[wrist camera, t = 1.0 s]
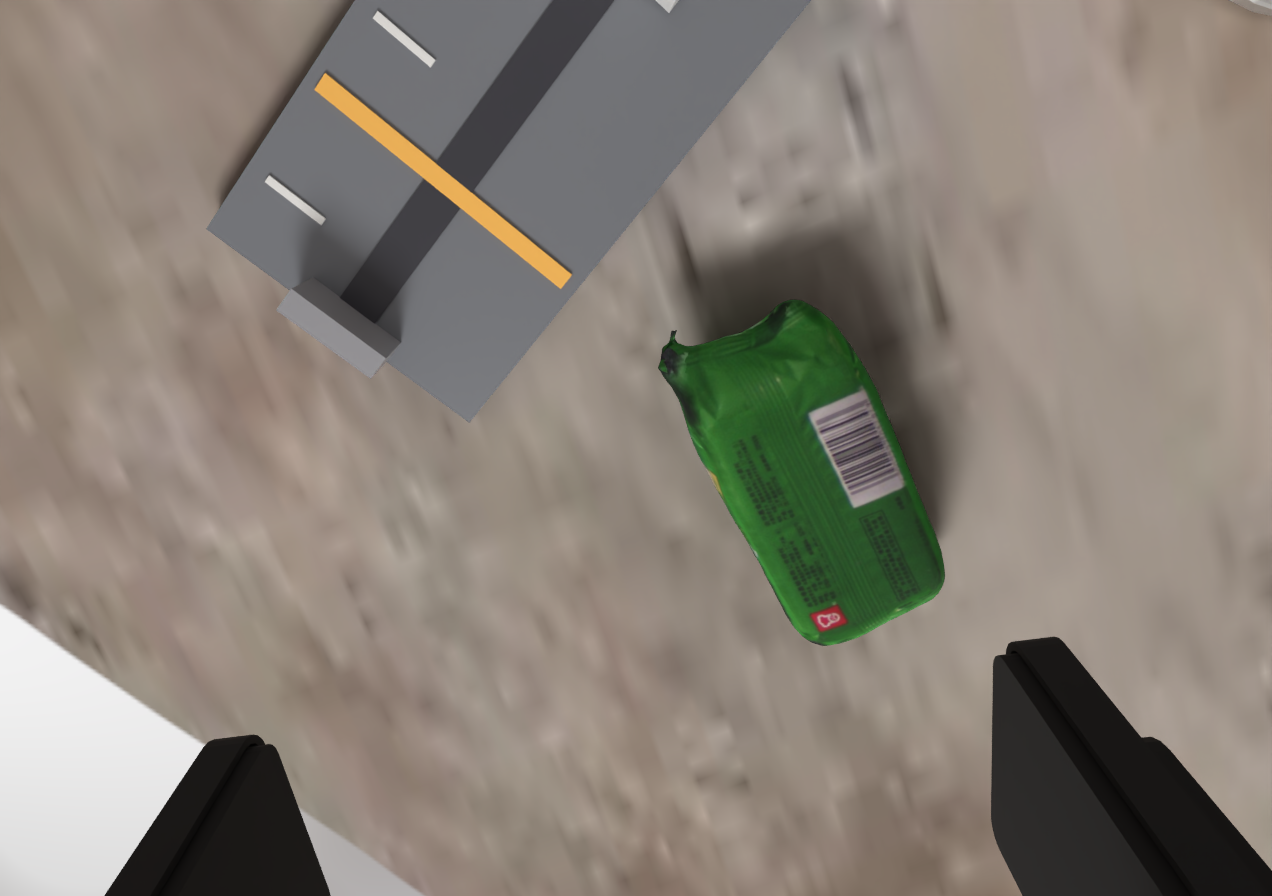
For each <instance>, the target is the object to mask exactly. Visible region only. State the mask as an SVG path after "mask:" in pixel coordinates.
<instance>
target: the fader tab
mask: <svg viewBox="0 0 1272 896" xmlns="http://www.w3.org/2000/svg"><path fill="white" fill-rule="evenodd" d="M656 1H657V2H658V3H659V4H660V5H661V6H662V7H663V8H664V9H665V10H666V11H667V12H668V13H670V11H671V10H672V9H673V7H674V6H675V5H676V3H677V2H678V1H679V0H656Z"/></svg>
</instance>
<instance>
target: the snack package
mask: <svg viewBox="0 0 1272 896" xmlns="http://www.w3.org/2000/svg"><path fill="white" fill-rule="evenodd" d="M676 331H677V330H676ZM676 331H672V332H671V337H670V341H669V343H668V344H667V345H665V346H664V347H663V348H662V354H661V361H660V364H659V367H658V368H659V370H660V371H661V373H662V375H663V377H664V378H665V379H666V381H667V382H668V383H669V384H670V386H671V387H672V388H673V390H674V392H675V394H676V396H677V397H678V399H679V402H680V404H681V407H682V410H683V413H684V417H685V420H686V424H687V427H688V430H689V433H690V436H691V439H692V441H693V444H694V446H695V448H696V450H697V453H698V455H699V457H700V459H701V461H702V463H703V464H704V466H705V468H706V470H707V471H708V473H709V475H710V477H711V480H712V482H713V484H714V485H715V487H716V489H717V491H718V492H719V494H720V496H721V498H722V499H723V501H724V503H725V504H726V506H727V508H728V510H729V512H730V514H731V516H732V517H733V519H734V521H735V523H736V524H737V526H738V527H739V529H740V530H741V532H742V533H743V535H744V537H745V538H746V540H747V542H748V544H749V546H750V548H751V549H752V551H753V553H754V555H755V557H756V558H757V560H758V561H759V563H760V565H761V567H762V569H763V571H764V573H765V575H766V577H767V579H768V581H769V583H770V585H771V586H772V588H773V590H774V592H775V594H776V596H777V598H778V600H779V602H780V604H781V606H782V608H783V610H784V612H785V614H786V615H787V617H788V619H789V620H790V622H791V623H792V625H793V626H794V628H795V629H796V630H797V631H798V632H799V633H800V634H801V635H802V636H803V637H804V638H806V639H807V640H809V641H810V642H812V643H815V644H818V645H822V646H827V645H834V644H839V643H843V642H846V641H849V640H852V639H855V638H858V637H860V636H862V635H864V634H866V633H868V632H870V631H871V630H873V629H875V628H877V627H878V626H880V625H882V624H884V623H886V622H888V621H890V620H892V619H894V618H896V617H898V616H900V615H902V614H904V613H906V612H908V611H910V610H912V609H914V608H916V607H918V606H920V605H922V604H924V603H926V602H928V601H930V600H932V599H933V598H934V597H935V596H936V595H937V594H938V593H939V591H940V590H941V588H942V586H943V583H944V579H945V571H944V563H943V558H942V553H941V549H940V546H939V543H938V541H937V538H936V535H935V532H934V530H933V527H932V525H931V523H930V521H929V518H928V516H927V513H926V510H925V508H924V505H923V503H922V501H921V498H920V496H919V494H918V491H917V489H916V486H915V484H914V481H913V478H912V476H911V473H910V470H909V468H908V466H907V464H906V462H905V459H904V455H903V453H902V450H901V447H900V445H899V443H898V441H897V438H896V435H895V433H894V430H893V427H892V425H891V423H890V421H889V419H888V416H887V414H886V411H885V409H884V407H883V404H882V402H881V400H880V397H879V394H878V392H877V389H876V387H875V385H874V384H873V382H872V380H871V378H870V376H869V375H868V373H867V371H866V369H865V367H864V366H863V364H862V362H861V361H860V359H859V358H858V356H857V355H856V353H855V352H854V350H853V348H852V347H851V345H850V344H849V343H848V341H847V340H846V339H845V337H844V336H843V335H842V333H841V332H840V331H839V329H838V328H837V327H836V325H835V324H834V323H833V322H832V321H831V320H830V319H829V318H828V317H827V316H825V315H824V314H823V313H821V312H820V311H819V310H818V309H816V308H815V307H813V306H811V305H809V304H807V303H806V302H804V301H800V300H788V301H785V302H782V303H781V304H779V305H778V306H776V308H775V309H774V310H773V311H772V312H771V313H770V314H769V315H767V316H766V317H765V318H764V319H763V320H762V321H760V322H759V323H757V324H755V325H754V326H752V327H750V328H749V329H747V330H745V331H743V332H741V333H738V334H734V335H730V336H725V337H722V338H720V339H717V340H714V341H711V342H708V343H705V344H700V345H695V346H684V345H682V344H679V343H677V341H676V340H675V334H676Z"/></svg>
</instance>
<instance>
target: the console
mask: <svg viewBox="0 0 1272 896" xmlns="http://www.w3.org/2000/svg"><path fill="white" fill-rule="evenodd" d="M810 1H811V0H679V1H678V2H677V3H676V5H675V6H674V7H673V9H672V10H671V11H670V13H668V12H667V11H666V10H665V9H664V8H663V7H662V6H661V5H660V4H659V3H658V2H657V1H656V0H355V1H354V2H353V4H352V5H351V7H350V8H349V10H348V11H347V13H346V15H345V16H344V18H343V19H342V21H341V22H340V24H339V25H338V27H337V28H336V30H335V31H334V33H333V35H332V36H331V38H330V39H329V41H328V42H327V44H326V45H325V47H324V48H323V50H322V51H321V53H320V55H319V56H318V58H317V59H316V61H315V62H314V64H313V65H312V67H311V68H310V70H309V71H308V73H307V75H306V76H305V78H304V79H303V81H302V82H301V84H300V85H299V87H298V88H297V90H296V91H295V93H294V95H293V96H292V98H291V99H290V101H289V102H288V104H287V105H286V107H285V108H284V110H283V111H282V113H281V115H280V116H279V118H278V119H277V121H276V122H275V124H274V125H273V127H272V128H271V130H270V131H269V133H268V135H267V136H266V138H265V139H264V141H263V142H262V144H261V145H260V147H259V148H258V150H257V152H256V153H255V155H254V156H253V158H252V159H251V161H250V162H249V164H248V165H247V167H246V168H245V170H244V172H243V173H242V175H241V176H240V178H239V179H238V181H237V182H236V184H235V185H234V187H233V188H232V190H231V192H230V193H229V195H228V196H227V198H226V199H225V201H224V202H223V204H222V205H221V207H220V208H219V210H218V212H217V213H216V215H215V216H214V218H213V219H212V221H211V222H210V224H209V225H208V227H207V228H206V229H207V230H208V231H210V232H211V233H212V234H214V235H215V236H216V237H218V238H219V239H221V240H222V241H223V242H225V243H226V244H227V245H229V246H230V247H231V248H233V249H234V250H235V251H237V252H238V253H240V254H241V255H242V256H244V257H245V258H246V259H248V260H249V261H250V262H252V263H253V264H254V265H256V266H257V267H259V268H260V269H261V270H263V271H264V272H265V273H267V274H268V275H269V276H271V277H272V278H274V279H275V280H276V281H278V282H279V283H280V284H282V285H283V286H284V287H286V288H287V289H288V290H290V291H289V293H288V294H287V295H286V297H285V298H284V300H283V301H282V303H281V304H280V305H279V307H278V308H277V311H278V312H279V313H281V314H282V315H283V316H285V317H286V318H288V319H289V320H290V321H292V322H293V323H294V324H296V325H297V326H299V327H300V328H301V329H303V330H304V331H305V332H307V333H308V334H310V335H311V336H312V337H314V338H315V339H317V340H318V341H319V342H321V343H322V344H323V345H325V346H326V347H328V348H329V349H330V350H332V351H333V352H334V353H336V354H337V355H339V356H340V357H341V358H343V359H344V360H345V361H347V362H348V363H350V364H351V365H352V366H354V367H355V368H356V369H358V370H359V371H361V372H362V373H363V374H365V375H366V376H367V377H369V378H370V379H371V378H372V377H373V376H374V375H375V374H376V373H377V372H378V370H379V369H380V368H381V367H382V366H383V365H384V364H385V363H386V362H388V363H389V364H390V365H392V366H393V367H394V368H396V369H397V370H398V371H400V372H401V373H403V374H404V375H405V376H407V377H408V378H409V379H411V380H412V381H413V382H415V383H416V384H417V385H419V386H420V387H422V388H423V389H424V390H426V391H427V392H428V393H430V394H431V395H432V396H434V397H435V398H436V399H438V400H439V401H441V402H442V403H443V404H445V405H446V406H447V407H449V408H450V409H451V410H453V411H454V412H456V413H457V414H458V415H460V416H461V417H462V418H464V419H465V420H466V421H468V422H470V421H471V420H472V419H473V417H474V416H475V415H476V414H477V412H478V411H479V410H480V409H481V407H482V406H483V405H484V404H485V403H486V401H487V400H488V399H489V398H490V396H491V395H492V394H493V393H494V391H495V390H496V389H497V388H498V386H499V385H500V384H501V383H502V382H503V380H504V379H505V378H506V377H507V375H508V374H509V373H510V372H511V370H512V369H513V368H514V367H515V365H516V364H517V363H518V362H519V361H520V359H521V358H522V357H523V356H524V354H525V353H526V352H527V351H528V349H529V348H530V347H531V346H532V344H533V343H534V342H535V341H536V340H537V338H538V337H539V336H540V335H541V333H542V332H543V331H544V330H545V328H546V327H547V326H548V325H549V323H550V322H551V321H552V320H553V319H554V317H555V316H556V315H557V314H558V312H559V311H560V310H561V309H562V307H563V306H564V305H565V304H566V302H567V301H568V300H569V299H570V298H571V296H572V295H573V294H574V293H575V291H576V290H577V289H578V288H579V286H580V285H581V284H582V283H583V281H584V280H585V279H586V278H587V276H588V275H589V274H590V273H591V272H592V270H593V269H594V268H595V267H596V265H597V264H598V263H599V262H600V260H601V259H602V258H603V257H604V255H605V254H606V253H607V252H608V251H609V249H610V248H611V247H612V246H613V244H614V243H615V242H616V241H617V239H618V238H619V237H620V236H621V234H622V233H623V232H624V231H625V230H626V228H627V227H628V226H629V225H630V223H631V222H632V221H633V220H634V218H635V217H636V216H637V215H638V213H639V212H640V211H641V210H642V209H643V207H644V206H645V205H646V204H647V202H648V201H649V200H650V199H651V197H652V196H653V195H654V194H655V192H656V191H657V190H658V189H659V188H660V186H661V185H662V184H663V183H664V181H665V180H666V179H667V178H668V176H669V175H670V174H671V173H672V171H673V170H674V169H675V168H676V167H677V165H678V164H679V163H680V162H681V160H682V159H683V158H684V157H685V155H686V154H687V153H688V152H689V150H690V149H691V148H692V147H693V146H694V144H695V143H696V142H697V141H698V139H699V138H700V137H701V136H702V134H703V133H704V132H705V131H706V129H707V128H708V127H709V126H710V125H711V123H712V122H713V121H714V120H715V118H716V117H717V116H718V115H719V113H720V112H721V111H722V110H723V108H724V107H725V106H726V105H727V103H728V102H729V101H730V100H731V99H732V97H733V96H734V95H735V94H736V92H737V91H738V90H739V89H740V87H741V86H742V85H743V84H744V82H745V81H746V80H747V79H748V78H749V76H750V75H751V74H752V73H753V71H754V70H755V69H756V68H757V66H758V65H759V64H760V63H761V61H762V60H763V59H764V58H765V57H766V55H767V54H768V53H769V52H770V50H771V49H772V48H773V47H774V45H775V44H776V43H777V42H778V40H779V39H780V38H781V37H782V36H783V34H784V33H785V32H786V31H787V29H788V28H789V27H790V26H791V24H792V23H793V22H794V21H795V19H796V18H797V17H798V16H799V15H800V13H801V12H802V11H803V10H804V8H805V7H806V6H807V5H808V3H809V2H810Z"/></svg>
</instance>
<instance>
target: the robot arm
mask: <svg viewBox="0 0 1272 896" xmlns="http://www.w3.org/2000/svg"><path fill="white" fill-rule="evenodd" d="M1229 1H1231V2H1233V3H1235V4H1237V5H1239V6H1241V7H1243V8H1246V9H1248V10H1250V11H1252V12H1255V13H1260V14H1265V15H1269V16H1272V0H1229ZM991 821H992V827H993V832H994V836H995V839H996V842H997V845H998V847H999V849H1000V851H1001V853H1002V855H1003V857H1004V859H1005V861H1006V863H1007V865H1008V867H1009V869H1010V871H1011V873H1012V875H1013V877H1014V879H1015V881H1016V883H1017V885H1018V887H1019V889H1020V891H1021V893H1022V895H1023V896H1272V870H1271V869H1270V868H1269V867H1268V866H1267V864H1266V863H1265V862H1264V861H1263V860H1262V859H1261V857H1260V856H1259V855H1258V854H1257V853H1256V851H1255V850H1254V849H1253V848H1252V847H1251V846H1250V844H1249V843H1248V842H1247V841H1246V840H1245V838H1244V837H1243V836H1242V835H1241V834H1240V832H1239V831H1238V830H1237V829H1236V828H1235V827H1234V825H1233V824H1232V823H1231V822H1230V821H1229V819H1228V818H1227V817H1226V816H1225V815H1224V814H1223V812H1222V811H1221V810H1220V809H1219V808H1218V806H1217V805H1216V804H1215V803H1214V802H1213V800H1212V799H1211V798H1210V797H1209V796H1208V795H1207V793H1206V792H1205V791H1204V790H1203V789H1202V787H1201V786H1200V785H1199V784H1198V783H1197V782H1196V780H1195V779H1194V778H1193V777H1192V776H1191V774H1190V773H1189V772H1188V771H1187V770H1186V768H1185V767H1184V766H1183V765H1182V764H1181V763H1180V761H1179V760H1178V759H1177V758H1176V757H1175V755H1174V754H1173V753H1172V752H1171V751H1170V750H1169V749H1168V748H1167V747H1166V746H1165V745H1164V744H1163V743H1162V742H1161V741H1159V740H1157V739H1155V738H1153V737H1144V738H1141V737H1140V735H1139V734H1138V733H1137V732H1136V731H1135V729H1134V728H1133V727H1132V726H1131V724H1130V723H1129V722H1128V721H1127V719H1126V718H1125V717H1124V716H1123V715H1122V713H1121V712H1120V711H1119V710H1118V708H1117V707H1116V706H1115V705H1114V704H1113V702H1112V701H1111V700H1110V699H1109V697H1108V696H1107V695H1106V694H1105V692H1104V691H1103V690H1102V689H1101V688H1100V686H1099V685H1098V684H1097V683H1096V681H1095V680H1094V679H1093V678H1092V677H1091V675H1090V674H1089V673H1088V672H1087V670H1086V669H1085V668H1084V667H1083V665H1082V664H1081V663H1080V662H1079V661H1078V659H1077V658H1076V657H1075V656H1074V654H1073V653H1072V652H1071V651H1070V650H1069V648H1068V647H1067V646H1066V645H1065V643H1064V642H1063V641H1062V640H1060V639H1059V638H1057V637H1048V638H1040V639H1031V640H1023V641H1015V642H1011V643H1009V644H1008V646H1007V649H1006V655H998V656H996V657H995V659H994V663H993V715H992V789H991ZM105 896H330V892H329V889H328V886H327V883H326V881H325V878H324V875H323V872H322V870H321V867H320V865H319V862H318V859H317V856H316V854H315V851H314V848H313V845H312V843H311V840H310V837H309V835H308V832H307V830H306V826H305V824H304V821H303V818H302V816H301V813H300V810H299V808H298V805H297V802H296V799H295V797H294V794H293V791H292V789H291V786H290V783H289V781H288V778H287V775H286V772H285V770H284V767H283V764H282V762H281V759H280V756H279V754H278V751H277V749H276V748H275V747H274V746H273V745H270V744H267V745H265V743H264V741H263V739H261V738H260V737H259V736H258V735H246V736H238V737H230V738H222V739H214V740H212V741H209V742H208V743H207V744H206V745H205V746H204V747H203V749H202V751H201V752H200V753H199V755H198V756H197V758H196V759H195V761H194V762H193V764H192V765H191V767H190V768H189V770H188V771H187V773H186V774H185V776H184V777H183V779H182V780H181V782H180V783H179V785H178V786H177V788H176V789H175V791H174V792H173V794H172V795H171V797H170V798H169V800H168V801H167V803H166V804H165V806H164V807H163V809H162V810H161V812H160V813H159V815H158V816H157V818H156V819H155V821H154V822H153V824H152V825H151V827H150V828H149V830H148V831H147V833H146V834H145V836H144V837H143V839H142V840H141V842H140V843H139V845H138V846H137V848H136V849H135V851H134V852H133V854H132V855H131V857H130V858H129V860H128V861H127V863H126V864H125V866H124V867H123V869H122V870H121V872H120V873H119V875H118V876H117V878H116V879H115V881H114V882H113V884H112V885H111V887H110V888H109V890H108V891H107V893H106V894H105Z"/></svg>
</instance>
